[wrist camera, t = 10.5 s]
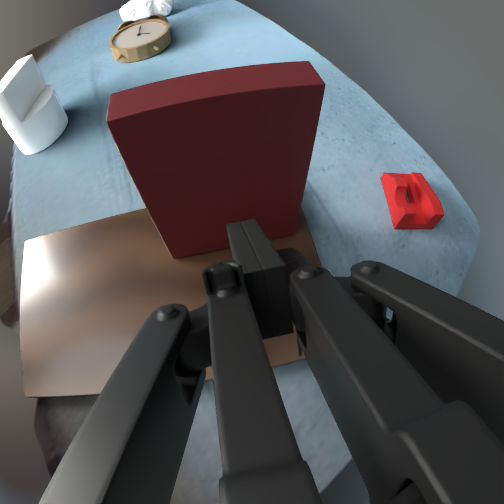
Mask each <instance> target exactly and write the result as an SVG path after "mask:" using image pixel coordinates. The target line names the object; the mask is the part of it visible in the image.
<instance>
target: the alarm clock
mask: <svg viewBox="0 0 504 504" xmlns="http://www.w3.org/2000/svg"><path fill="white" fill-rule="evenodd" d="M169 28H170V27H169V24H168V20H167V18H166V17H165V16H163V15H161V14H153V15H151V16H150V17H145V18H141V19H138V20H135V21H132V20H129V21H125V22H123V23H122V24H121V25H120V26H119V27H118V29H117V32H116V33H115V34H114V35H113V36H112V37H111V39H110V41H109V46H110V48H111V51H112V54H113V57H114V58H115V60H116V61H119V62H128V63H130V62H136V61H141V60H144V59H147V58H150V57H152V56H154V55H157V54H159V53H160V52H162V51H163V50H165V49H166V48H167V47H168V46H169V44H170V43H171V40H172V38H171V35H170V29H169Z"/></svg>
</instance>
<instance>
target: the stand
mask: <svg viewBox="0 0 504 504" xmlns="http://www.w3.org/2000/svg"><path fill="white" fill-rule="evenodd" d="M269 241H270V242H271V244H272V245H273V247H274V248H275V250H280V249H285V248H290V247H292V248H295V249H297V250H299V251H300V252H301V253H302V254H303V255H304V256H305V258H306V259H307V260H308V261H309V262H310V263H311V265H312V266H320V267H321V264H320V261H319V258H318V255H317V252H316V249H315V246H314V243H313V240H312V238H311V235H310V232H309V229H308V226H307V223H306V220H305V217H304V214H303V212H302V209H301V207H300V212H299V216H298V221H297V225H296V229H295V234H293V235H288V236H283V237H278V238H273V239H269ZM230 260H233V258H232V253H231V248H230V247H229V248H224V249H220V250H215V251H210V252H205V253H200V254H195V255H191V256H186V257H181V258H176V259H173V257H172V256H171V254H170V252H169V250H168V248H167V247H166V245H165V243H164V241H163V239H162V237H161V235H160V233H159V231H158V230H157V228H156V226H155V224H154V222H153V220H152V218H151V216H150V214H149V212H148V210H147V208H145V209H141V210H136V211H132V212H128V213H124V214H120V215H116V216H112V217H108V218H104V219H100V220H97V221H93V222H89V223H85V224H82V225H78V226H74V227H71V228H67V229H64V230H60V231H57V232H53V233H50V234H46V235H43V236H40V237H36V238H33V239H30V240H26V241H25V246H24V255H23V265H22V278H21V298H20V345H21V364H22V376H23V387H24V396H25V397H30V398H33V397H34V398H43V397H72V396H89V395H99V394H100V393H101V391H102V389H103V388H104V386H105V385H106V383H107V381H108V380H109V378H110V376H111V375H112V373H113V371H114V370H115V368H116V367H117V365H118V363H119V362H120V360H121V359H122V357H123V355H124V354H125V352H126V351H127V349H128V347H129V346H130V344H131V343H132V341H133V340H134V338H135V336H136V335H137V333H138V332H139V330H140V329H141V327H142V326H143V324H144V322H145V321H146V319H147V318H148V316H149V315H150V314H151V313H152V312H153V311H154V310H156V309H157V308H159V307H160V306H162V305H163V306H164V305H165V304H182V305H185V306H186V307H187V309H188V312H189V311H192V310H194V309H197V308H199V307H201V306H202V305H204V304H205V303H206V302H207V293H206V289H205V285H204V281H203V277H202V271H203V270H204V269H205V268H206V267H208V266H210V265H212V264H215V263H218V262H223V261H230ZM293 329H294V333H291V334H286V335H282V336H278V337H273V338H269V339H265V340H263V343H264V346H265V349H266V352H267V355H268V358H269V361H270V364H271V367H276V366H280V365H284V364H288V363H292V362H296V361H300V360H304V359H306V357H305V355H304V353H303V351H302V356H299V353H298V343H297V333H296V327H295V325H294V323H293ZM209 380H213V372H212V366H210V367H207V368H206V378H205V381H209Z"/></svg>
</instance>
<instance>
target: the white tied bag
mask: <svg viewBox="0 0 504 504" xmlns="http://www.w3.org/2000/svg"><path fill="white" fill-rule="evenodd" d="M172 5H173V0H131V1H129V2H128V3H127V4H125V5H123V6H122V7H121V9H120V11H119V12H120V16H121V18H122V20H123V21H124V22H125V21H129V20H132V21H135V20H138V19H141V18H145V17H150V16H151V15H153V14H161V15H163V16H166V15H168V14H169V13H170V12H171V10H172Z"/></svg>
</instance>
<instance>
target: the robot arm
mask: <svg viewBox="0 0 504 504" xmlns="http://www.w3.org/2000/svg"><path fill="white" fill-rule="evenodd" d="M226 226H227V232H228V237H229V242H230V248H231V253H232V258H233V260H230V261H223V262H218V263H215V264H212V265H210V266H208V267H206V268H205V269H204V270H203V271H202V277H203V281H204V285H205V289H206V293H207V302H206V303H205V304H204V305H202V306H201V307H199V308H197V309H194V310H192V311H189V312H188V309H187V307H186V306H185V305H182V304H165V305H164V306H163V305H162V306H160V307H159V308H157V309H156V310H154V311H153V312H152V313H151V314H150V315H149V316H148V318H147V319H146V321H145V322H144V324H143V326H142V327H141V329H140V330H139V332H138V333H137V335H136V336H135V338H134V340H133V341H132V343H131V344H130V346H129V347H128V349H127V351H126V352H125V354H124V355H123V357H122V359H121V360H120V362H119V363H118V365H117V367H116V368H115V370H114V371H113V373H112V375H111V376H110V378H109V380H108V381H107V383H106V385H105V386H104V388H103V389H102V391H101V393H100V394H99V396H98V398H97V399H96V401H95V403H94V405H93V406H92V408H91V410H90V411H89V413H88V415H87V416H86V418H85V420H84V422H83V423H82V425H81V427H80V429H79V430H78V432H77V434H76V436H75V437H74V439H73V441H72V443H71V444H70V446H69V448H68V450H67V452H66V453H65V455H64V457H63V459H62V461H61V462H60V464H59V466H58V468H57V470H56V472H55V474H54V475H53V477H52V479H51V481H50V483H49V485H48V487H47V489H46V491H45V493H44V494H43V496H42V498H41V500H40V502H39V504H169V503H170V500H171V496H172V493H173V489H174V486H175V482H176V478H177V475H178V471H179V468H180V464H181V461H182V457H183V454H184V450H185V447H186V443H187V440H188V437H189V433H190V430H191V426H192V423H193V419H194V416H195V412H196V409H197V405H198V402H199V399H200V395H201V392H202V388H203V385H204V381H205V378H206V368H207V367H210V366H212V372H213V383H214V394H215V405H216V415H217V424H218V434H219V443H220V451H221V460H222V468H223V477H222V478H220V479H219V495H220V503H221V504H323V503H322V501H321V498H320V495H319V492H318V490H317V487H316V484H315V481H314V478H313V476H312V473H311V471H310V468H309V466H308V464H307V462H306V461H304V460H303V459H302V456H301V454H300V451H299V448H298V445H297V442H296V439H295V436H294V433H293V430H292V427H291V424H290V421H289V419H288V416H287V413H286V410H285V407H284V404H283V401H282V398H281V395H280V391H279V388H278V385H277V382H276V379H275V376H274V373H273V370H272V367H271V364H270V361H269V358H268V355H267V352H266V349H265V346H264V343H263V340H265V339H269V338H273V337H278V336H282V335H286V334H291V333H294V329H293V323H294V325H295V327H296V333H297V343H298V353H299V356H302V351H303V353H304V355H305V357H306V359H307V361H308V364H309V366H310V368H311V370H312V372H313V374H314V376H315V378H316V380H317V383H318V385H319V387H320V389H321V391H322V393H323V395H324V397H325V400H326V402H327V404H328V406H329V408H330V410H331V412H332V414H333V417H334V419H335V421H336V423H337V425H338V427H339V429H340V431H341V434H342V436H343V438H344V440H345V442H346V444H347V446H348V448H349V451H350V453H351V455H352V457H353V459H354V461H355V463H356V465H357V467H358V470H359V472H360V474H361V476H362V478H363V480H364V482H365V484H366V487H367V489H368V493H369V498H370V504H504V321H503V320H501V319H499V318H497V317H495V316H493V315H491V314H489V313H487V312H485V311H483V310H481V309H479V308H477V307H475V306H473V305H471V304H469V303H467V302H465V301H463V300H460V299H458V298H456V297H454V296H452V295H450V294H448V293H446V292H444V291H442V290H440V289H437V288H435V287H433V286H431V285H429V284H427V283H425V282H423V281H420V280H418V279H416V278H414V277H412V276H410V275H407V274H405V273H403V272H401V271H399V270H396V269H394V268H392V267H390V266H388V265H385V264H383V263H380V262H375V261H371V260H370V261H362V262H360V263H357V264H355V265H353V266H352V268H351V276H347V277H333V276H332V275H331V274H330V273H329V272H328V270H326V269H325V268H323V267H320V266H312V265H311V263H310V262H309V261H308V260H307V259H306V258H305V256H304V255H303V254H302V253H301V252H300V251H299V250H297V249H295V248H292V247H290V248H285V249H280V250H275V248H274V247H273V245H272V244H271V242H270V241H269V239H268V238H267V236H266V235H265V233H264V232H263V231H262V229H261V228H260V226H259V225H258V223H257V222H256V220H255V219H251V220H246V221H241V222H235V223H230V224H226ZM387 307H388V308H390V309H391V310H392V311H393V317H392V321H391V320H389V319H387V318H386V311H387Z"/></svg>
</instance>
